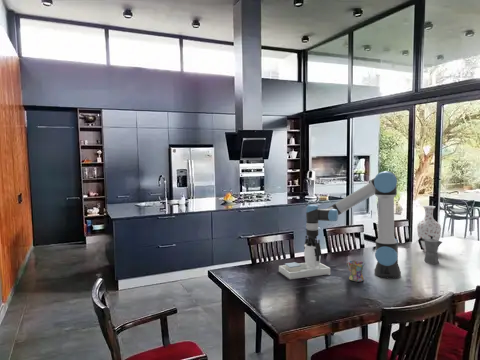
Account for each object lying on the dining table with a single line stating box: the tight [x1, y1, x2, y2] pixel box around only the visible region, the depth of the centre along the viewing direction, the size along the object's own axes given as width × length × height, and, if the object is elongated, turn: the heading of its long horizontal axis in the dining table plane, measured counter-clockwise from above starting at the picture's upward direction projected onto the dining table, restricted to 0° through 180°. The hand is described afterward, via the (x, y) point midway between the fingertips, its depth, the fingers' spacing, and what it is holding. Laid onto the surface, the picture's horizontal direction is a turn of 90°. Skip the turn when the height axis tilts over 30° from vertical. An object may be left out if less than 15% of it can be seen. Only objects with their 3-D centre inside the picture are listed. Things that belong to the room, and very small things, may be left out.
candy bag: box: [346, 259, 365, 282], centre depth 207 cm, size 12×9×11 cm
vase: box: [416, 205, 442, 253], centre depth 267 cm, size 16×16×35 cm
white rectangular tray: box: [278, 262, 331, 280], centre depth 220 cm, size 16×28×4 cm, turn 108°
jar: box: [303, 243, 322, 270], centre depth 221 cm, size 11×10×15 cm
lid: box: [284, 261, 301, 268], centre depth 217 cm, size 8×8×1 cm
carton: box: [284, 264, 300, 272], centre depth 217 cm, size 7×7×6 cm
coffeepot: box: [417, 236, 443, 264], centre depth 241 cm, size 15×9×18 cm, turn 44°
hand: (312, 263), depth 221 cm, fingers closed on jar, 10 cm apart
